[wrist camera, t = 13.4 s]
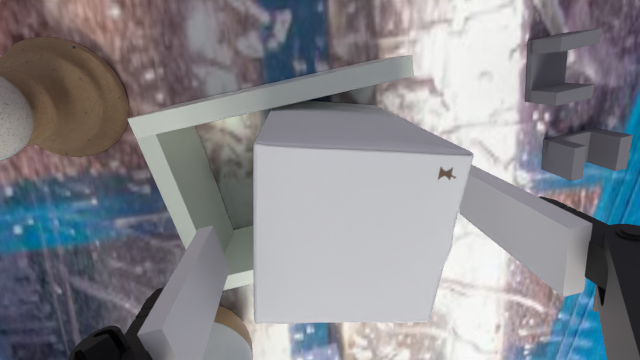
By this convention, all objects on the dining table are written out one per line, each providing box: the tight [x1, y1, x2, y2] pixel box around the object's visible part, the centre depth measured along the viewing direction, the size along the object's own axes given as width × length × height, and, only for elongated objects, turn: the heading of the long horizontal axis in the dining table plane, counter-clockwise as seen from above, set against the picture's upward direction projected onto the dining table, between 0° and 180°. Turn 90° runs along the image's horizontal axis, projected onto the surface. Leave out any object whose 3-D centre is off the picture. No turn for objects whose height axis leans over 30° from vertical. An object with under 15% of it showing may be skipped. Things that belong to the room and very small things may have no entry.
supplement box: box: [253, 100, 473, 324], centre depth 20 cm, size 9×9×15 cm
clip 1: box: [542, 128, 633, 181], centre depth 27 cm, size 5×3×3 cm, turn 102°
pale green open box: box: [128, 55, 414, 290], centre depth 23 cm, size 17×13×7 cm
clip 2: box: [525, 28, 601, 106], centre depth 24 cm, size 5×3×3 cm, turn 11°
